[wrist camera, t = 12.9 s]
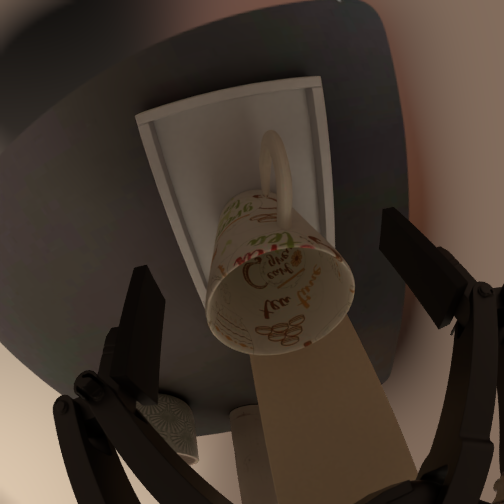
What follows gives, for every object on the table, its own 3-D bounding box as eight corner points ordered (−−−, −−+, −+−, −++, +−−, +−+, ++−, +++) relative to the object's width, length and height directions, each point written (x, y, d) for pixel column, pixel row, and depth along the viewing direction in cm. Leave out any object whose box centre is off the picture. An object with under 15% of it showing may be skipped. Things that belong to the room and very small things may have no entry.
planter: (135, 378, 36) (130, 444, 27) (207, 397, 41) (213, 457, 32) (118, 404, 41) (114, 457, 32) (179, 420, 46) (181, 469, 37)
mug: (210, 268, 25) (216, 363, 17) (192, 124, 18) (177, 160, 10) (301, 258, 26) (340, 343, 17) (307, 118, 19) (382, 152, 10)
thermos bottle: (268, 401, 44) (299, 542, 21) (272, 415, 49) (300, 537, 26) (224, 408, 44) (245, 549, 21) (234, 422, 49) (254, 544, 26)
